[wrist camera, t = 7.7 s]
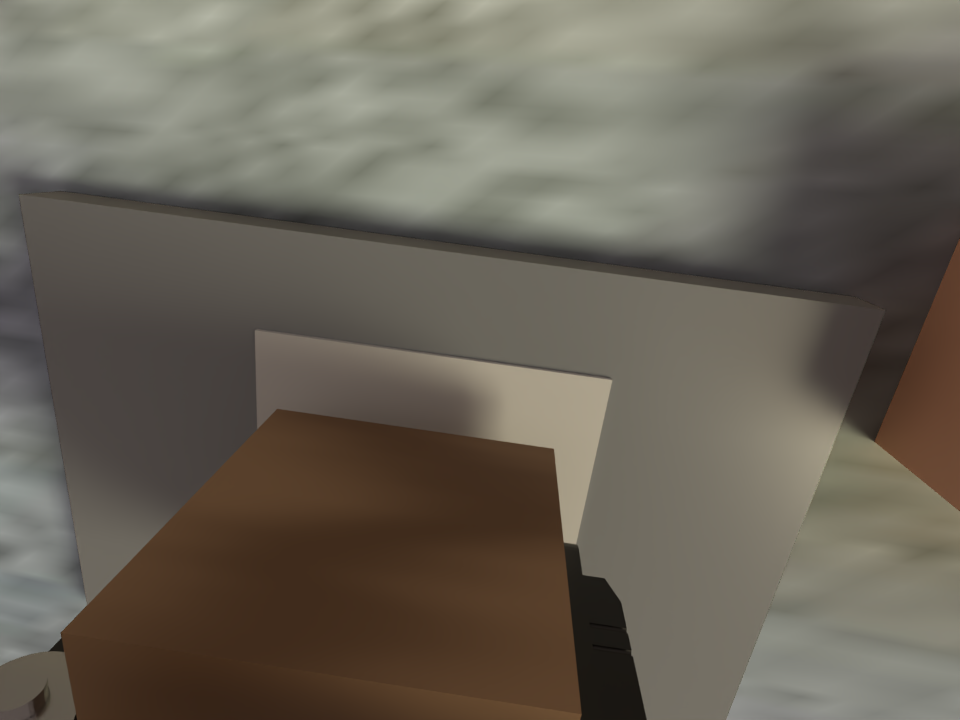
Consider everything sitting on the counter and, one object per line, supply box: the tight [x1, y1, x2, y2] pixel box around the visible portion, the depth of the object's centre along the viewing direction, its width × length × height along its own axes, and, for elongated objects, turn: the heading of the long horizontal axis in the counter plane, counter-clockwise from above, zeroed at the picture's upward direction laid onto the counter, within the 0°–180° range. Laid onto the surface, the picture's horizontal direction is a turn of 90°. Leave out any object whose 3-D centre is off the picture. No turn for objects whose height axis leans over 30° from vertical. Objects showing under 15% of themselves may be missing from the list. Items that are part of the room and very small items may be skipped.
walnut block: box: [61, 409, 582, 720], centre depth 8 cm, size 5×5×5 cm
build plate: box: [19, 191, 886, 720], centre depth 13 cm, size 16×11×1 cm
